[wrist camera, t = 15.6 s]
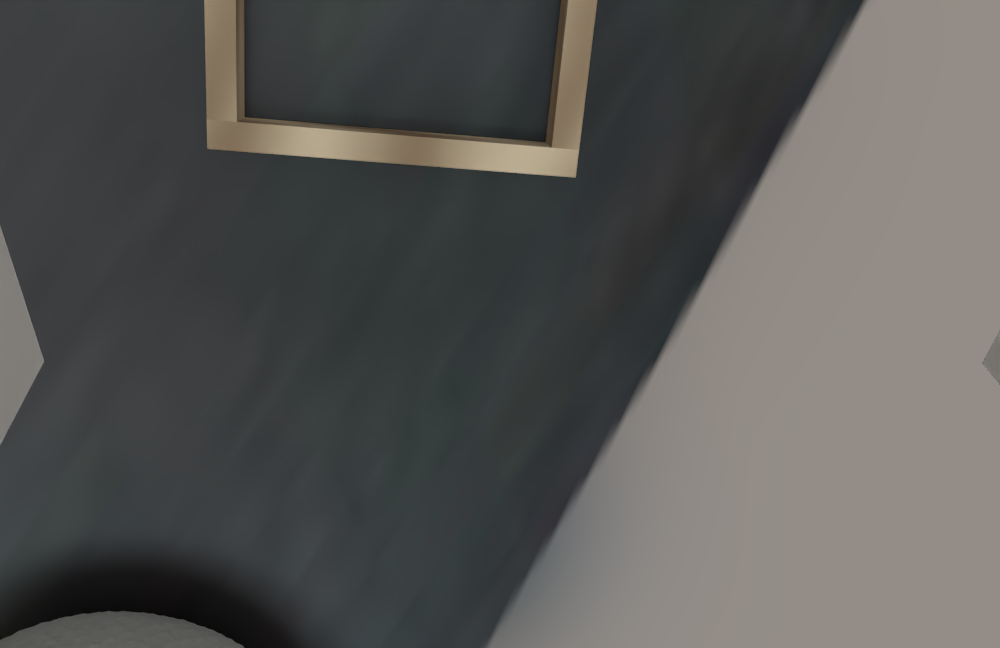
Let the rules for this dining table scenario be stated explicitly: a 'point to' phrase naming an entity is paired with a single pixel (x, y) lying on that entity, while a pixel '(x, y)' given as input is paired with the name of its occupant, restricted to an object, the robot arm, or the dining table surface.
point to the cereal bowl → (117, 633)
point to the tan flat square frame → (389, 144)
